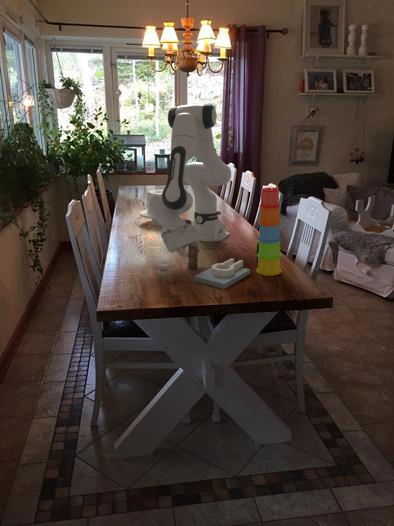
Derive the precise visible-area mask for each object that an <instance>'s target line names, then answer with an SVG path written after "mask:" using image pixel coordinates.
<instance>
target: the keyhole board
mask: <svg viewBox="0 0 394 526" xmlns="http://www.w3.org/2000/svg"><path fill="white" fill-rule="evenodd" d="M210 266H211V267H210V268H208V269H206V270H203V271H202V272H199V273H197V274H196V275H193V281H194V282H197V283H200V284H204V285H208V286H211V287H215V288H219V289H222V290H225V289H227V288H229V287H230V286H232V285H234V284H235V283H238V282H239V281H240V280H242V279H245V277H247V276H249V275H251V269H249V268H246V267H244V260H243V259H240V260H238V261H236V262H235V258H233V257H232V258H229V259H227V260H225V261H224V262H220V263H214V264H212V265H210Z"/></svg>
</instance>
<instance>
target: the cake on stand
mask: <svg viewBox="0 0 394 526" xmlns="http://www.w3.org/2000/svg"><path fill="white" fill-rule="evenodd" d="M163 190H164V189H154V190H152V189H151V190H149V191H147V192H146V209H143V210H141V211H140V212H139V216H140V217H141V218H144V219H149V220H150V219H151V226H153V225H157V226H159V227H160V226H161V224H160V223H159V222H158V221H157V220H156V219H155V217H154V216H153V214H152V212H151V210H150V208H149V202H150V200H151V199H152V198H153V197H154V196H155V195H156V194H158V193H160V194H162V193H163ZM182 216H183V213H182V214H180V215H179V217H180V218H181V217H182ZM157 226H156V227H157ZM161 227H162V226H161Z"/></svg>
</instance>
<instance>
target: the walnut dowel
mask: <svg viewBox="0 0 394 526" xmlns="http://www.w3.org/2000/svg"><path fill="white" fill-rule="evenodd" d="M187 248H188V249H187V253H188V255H189V256H188V257H187V260H188V261H187V264H188V265H187V268H188V270H192V271H193V270H197V269H198V267H199V266H198V264H199V263H198V262H199V253H198V245H196V244H190V245H188V247H187Z"/></svg>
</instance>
